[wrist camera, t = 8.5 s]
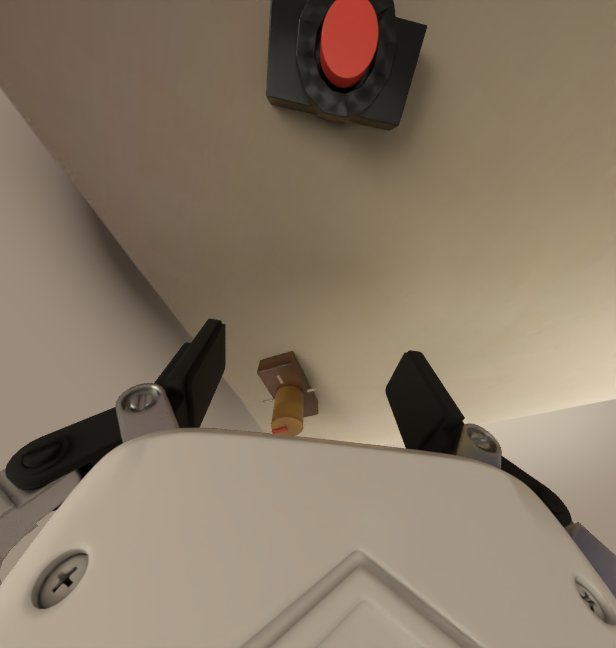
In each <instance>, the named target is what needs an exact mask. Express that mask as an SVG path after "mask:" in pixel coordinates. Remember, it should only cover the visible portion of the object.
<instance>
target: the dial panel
mask: <svg viewBox="0 0 616 648" xmlns="http://www.w3.org/2000/svg"><path fill="white" fill-rule="evenodd" d="M257 374H258V375H259V377H260V378H261V380H262V381H263V383H264V384H265V386H266V387H267V389H268V391H269V392H270V394H271V395H272V397H273V398H274V400H275V395H276V392H277V390H278V389H279V388H281V387H283V386H295V387H297V388H299V389H301V390H302V392H303V394H304V412H303V417H308V416H312V415H316V414H318V401H317V399H316V397H315V395H314V393H313V391H315V390H317V387H316V388H312V389H311V387H310V385H309V383H308V381H307V379H306V377H305V375H304V373H303V371H302V369H301V367H300V365H299V363H298V361H297V359H296V357H295V355H294V353H293V351H292V352H288V353H285V354H281V355H278V356H274V357H271V358H267V359H264V360H260V363H259V367H258V371H257ZM271 401H273V400H272V399H269V400H265V401H263V402H264V403H267V402H271Z"/></svg>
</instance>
